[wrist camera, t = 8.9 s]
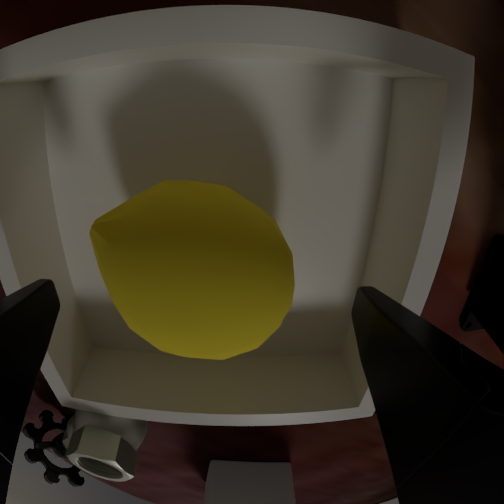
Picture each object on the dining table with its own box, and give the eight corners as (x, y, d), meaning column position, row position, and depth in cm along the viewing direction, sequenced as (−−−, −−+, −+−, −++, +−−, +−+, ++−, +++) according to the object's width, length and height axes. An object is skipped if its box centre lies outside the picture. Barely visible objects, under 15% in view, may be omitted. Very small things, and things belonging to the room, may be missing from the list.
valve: (94, 332, 16) (36, 397, 19) (53, 429, 10) (10, 460, 14) (184, 391, 18) (101, 437, 22) (173, 485, 12) (85, 501, 16)
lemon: (309, 213, 12) (369, 303, 8) (236, 308, 14) (255, 411, 10) (145, 123, 10) (100, 172, 5) (89, 246, 12) (46, 347, 7)
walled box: (405, 61, 10) (474, 56, 6) (349, 352, 17) (371, 416, 13) (38, 63, 9) (-33, 64, 5) (87, 345, 16) (61, 405, 12)
